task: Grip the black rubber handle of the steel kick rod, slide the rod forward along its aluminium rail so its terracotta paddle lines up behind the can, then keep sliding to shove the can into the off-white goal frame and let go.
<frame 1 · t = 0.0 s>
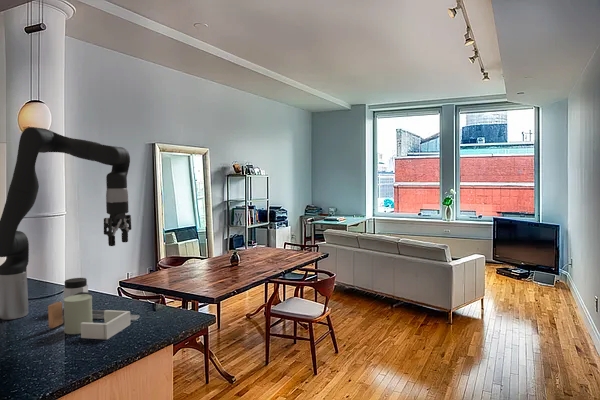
hand: (118, 244, 159), 29 cm above the kitchen island, fingers open, 8 cm apart
goal frame: (104, 330, 150), on the kitchen island
can: (79, 330, 152), on the kitchen island
jar: (76, 309, 176), on the kitchen island
rail: (105, 317, 164), on the kitchen island
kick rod: (80, 309, 158), point 5 cm above the kitchen island, slide at 0.0 cm
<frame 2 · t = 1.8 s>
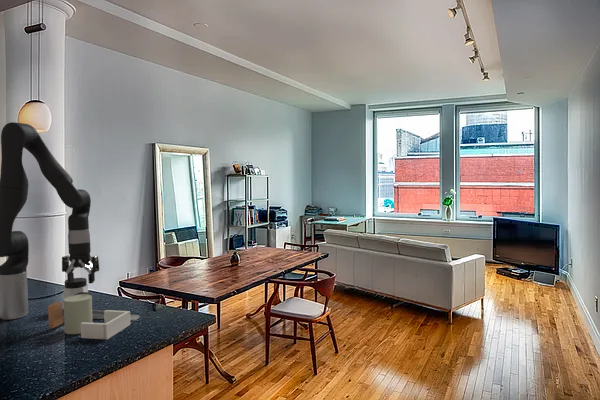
hand: (81, 282, 165), 13 cm above the kitchen island, fingers open, 8 cm apart
nothing on the kitchen island moved.
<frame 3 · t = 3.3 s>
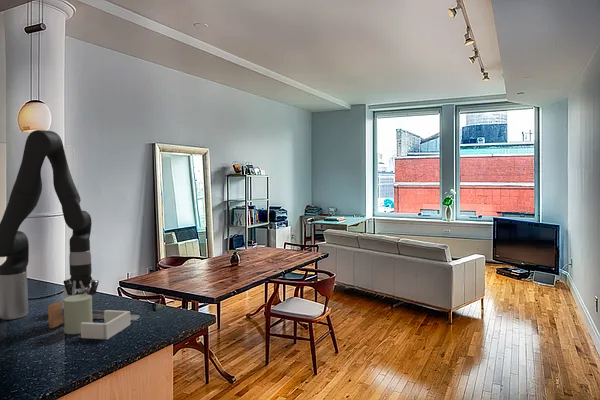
hand: (82, 305, 166), 4 cm above the kitchen island, fingers closed on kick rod, 4 cm apart
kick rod: (79, 309, 158), point 5 cm above the kitchen island, slide at 0.0 cm, touching gripper
everything else where it was.
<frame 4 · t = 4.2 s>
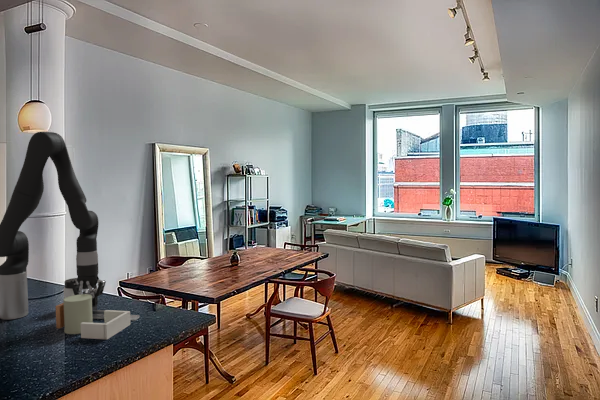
hand: (88, 306, 165), 4 cm above the kitchen island, fingers closed on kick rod, 4 cm apart
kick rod: (87, 310, 158), point 5 cm above the kitchen island, slide at 2.9 cm, touching gripper
everything else where it was.
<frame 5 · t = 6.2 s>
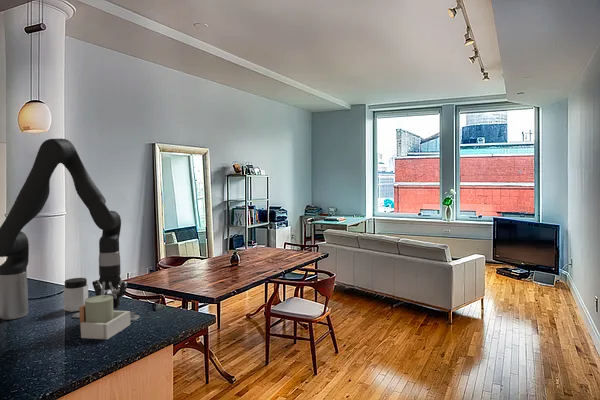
hand: (110, 307, 164), 4 cm above the kitchen island, fingers closed on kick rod, 4 cm apart
can: (100, 331, 151), on the kitchen island, touching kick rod
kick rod: (110, 311, 157), point 5 cm above the kitchen island, slide at 12.1 cm, touching can, gripper
everything else where it was.
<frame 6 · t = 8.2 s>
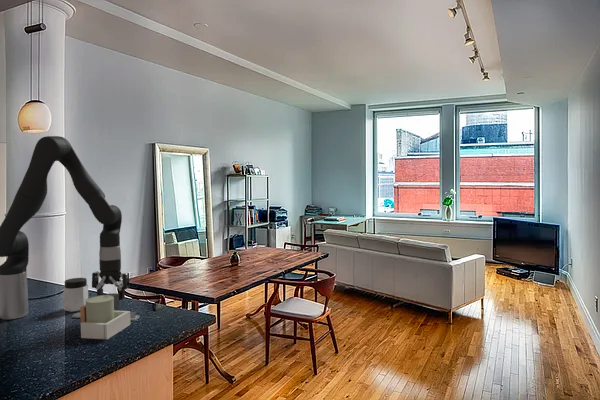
hand: (111, 299, 164), 7 cm above the kitchen island, fingers open, 8 cm apart
can: (100, 331, 150), on the kitchen island
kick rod: (110, 311, 157), point 5 cm above the kitchen island, slide at 12.4 cm
everything else where it was.
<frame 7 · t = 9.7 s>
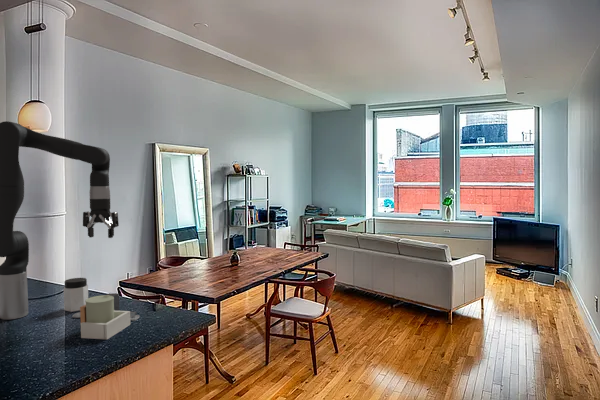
hand: (101, 237, 172), 30 cm above the kitchen island, fingers open, 8 cm apart
nothing on the kitchen island moved.
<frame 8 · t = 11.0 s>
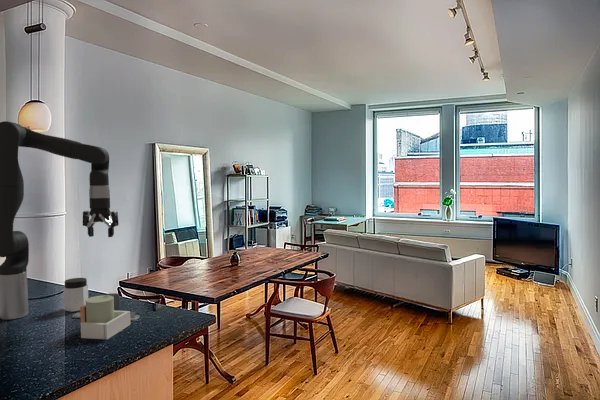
hand: (100, 236, 173), 30 cm above the kitchen island, fingers open, 8 cm apart
nothing on the kitchen island moved.
at the end: can inside the target area (1.7 cm from its centre), on the kitchen island; can tilted 0°; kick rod slide at 12.4 cm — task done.
